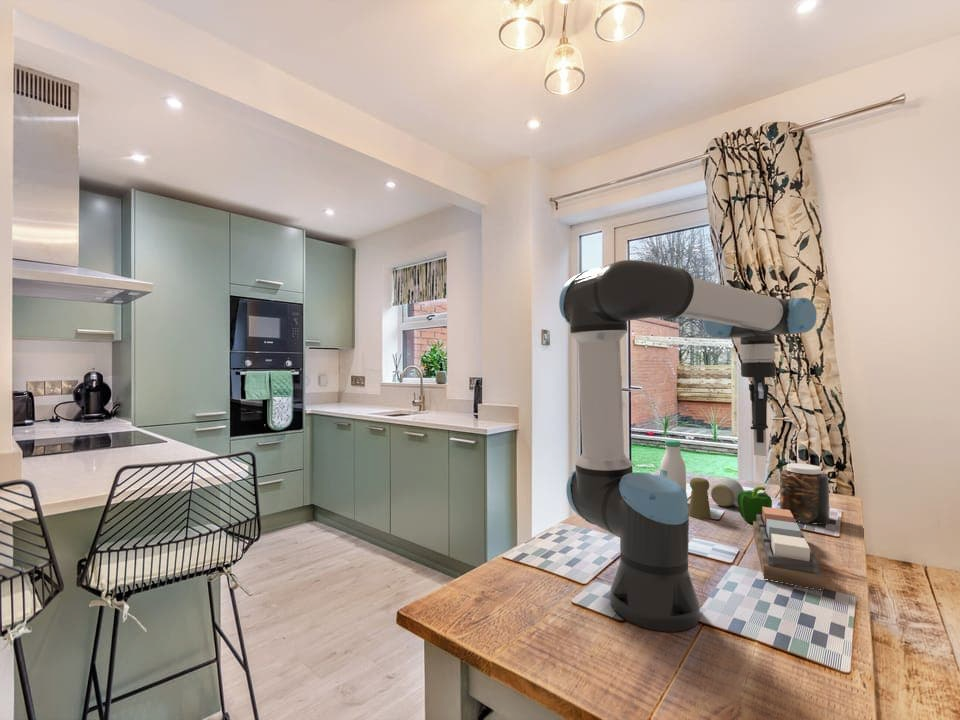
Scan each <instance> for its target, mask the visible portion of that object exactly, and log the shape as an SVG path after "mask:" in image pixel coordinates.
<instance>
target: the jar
mask: <svg viewBox="0 0 960 720" xmlns="http://www.w3.org/2000/svg"><path fill="white" fill-rule="evenodd" d="M829 484H830V483H829V477H828V475H827V474H824V473H822V467H821V466H818V465H816V464H815V465H814V464H809V463H808V464H807V463H798V462H796V463H795V462H793V463H792V462H791V463H787V464H786V469H783V470H782V471H780V475H779V509H785V510H790V511H791V513H792V515H793V517H794V519H795V520H796V521H800V522H804V523H803V524H806V523H826V522H828V521H829V522H830V487H829ZM800 522H799V523H800ZM829 522H828V523H829ZM826 524H827V523H826Z"/></svg>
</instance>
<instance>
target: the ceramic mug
mask: <svg viewBox="0 0 960 720" xmlns="http://www.w3.org/2000/svg"><path fill="white" fill-rule="evenodd" d="M740 491H745V490H744V488H743V485H742V484H740V482H738V481H737V480H736V479H733V478H723V479H722V480H720V481H719V482H717V483H716V484H714V485H713V487H711V490H710V496H711V499H712V500H713V502H714V503H715V504H717V505H718V506H720V507H723V508H725V507H726V508H727V507H728V508H729V507H731V506H733V505H734V506H735V507H737V508H739V506H738V494H739V492H740Z"/></svg>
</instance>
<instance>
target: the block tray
mask: <svg viewBox="0 0 960 720" xmlns="http://www.w3.org/2000/svg"><path fill="white" fill-rule="evenodd" d="M794 523H797V525H798V527H799V529H800V530H801V528H800V526H799V524H798V522H796V520H795V519H794ZM752 533H753V537H754V543H755V546H756V550H757V556H758V559H759V564H760V568H761V572H762V576H764V577H763V580H764V579H768V580H773V581H778V582H783V583H788V584H793V585H797V586H796V587H798V586H801V587H800V588H803V587H808V588H807V589H809V588H814V589H821V590H824V591H825V576H824V573H823V572H822V569H821V568H820V566H819V563H818V560H817V559H816V557H815V555H814V553H813V551H812V550H811V548H810V561H803V560H797V559H791V558H785V557H779V556H774V554H773V551H772V548H771V539H770V538H768V535H767V531H766V524H764V522H763V519H762V515H759V514H757V521H753V523H752ZM801 538H805V535H804V534H803V532H801ZM805 540H806V538H805ZM806 542H807V544H808V546H809V543H808V541H807V540H806ZM809 547H810V546H809ZM793 585H792V586H793ZM814 589H813V590H814Z"/></svg>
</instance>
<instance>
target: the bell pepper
mask: <svg viewBox="0 0 960 720" xmlns="http://www.w3.org/2000/svg"><path fill="white" fill-rule="evenodd" d="M765 490H766V487H765V486H757V487H754V488H753V491H752V490H750V489H749V490H746V491H745V490H744V491H740V492H739V494H738V506H739V507H738V509H739V513H740V516H741V517H742V519H744V520H745V521H746V522H747V523H750V524H751V523H752V524H753V521H757V514H759V515H762V507H769V508H773V507H772V506H773V500H772V498H771V496H770V495H768V493H766V492H764V491H765ZM759 491H763V492H759Z"/></svg>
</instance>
